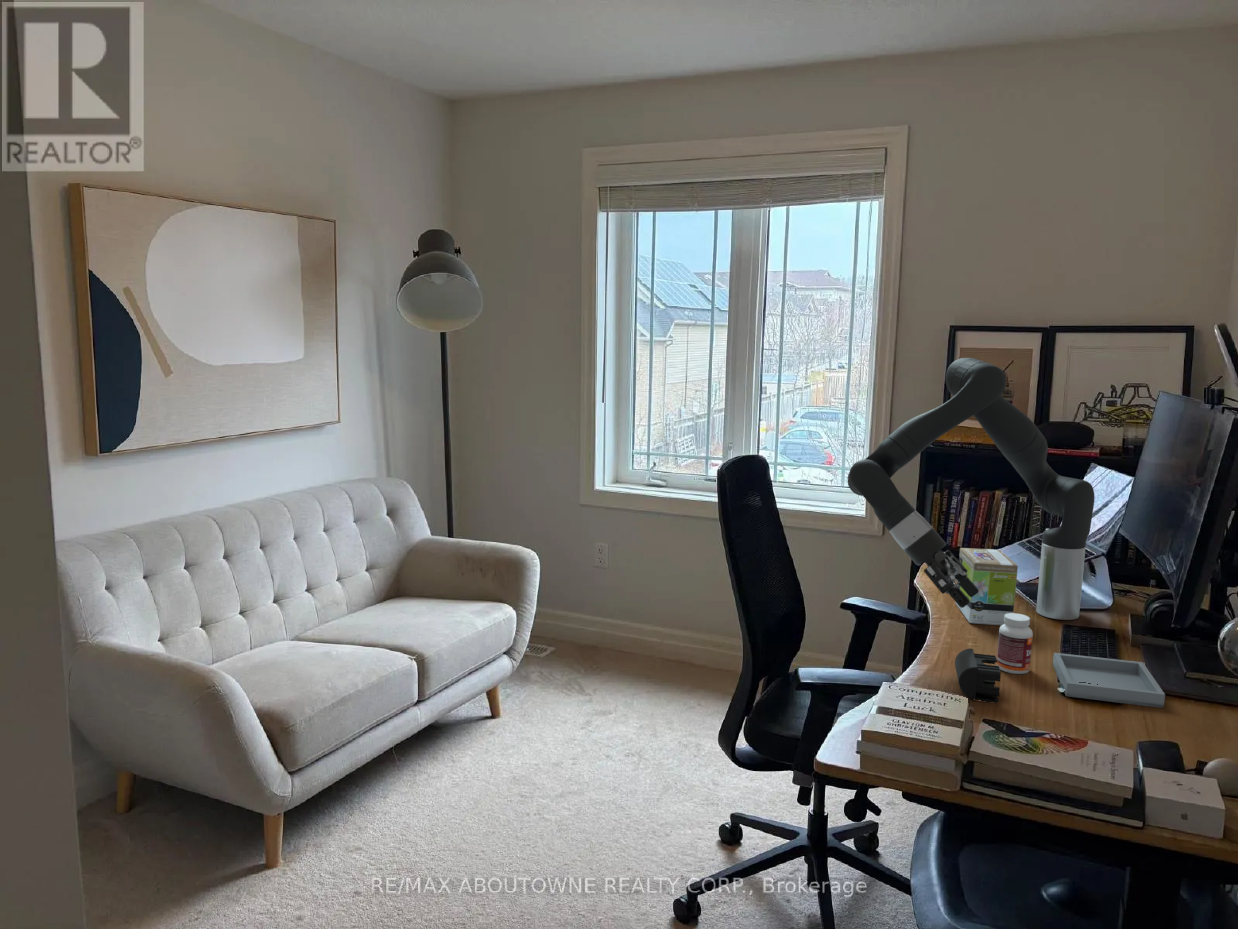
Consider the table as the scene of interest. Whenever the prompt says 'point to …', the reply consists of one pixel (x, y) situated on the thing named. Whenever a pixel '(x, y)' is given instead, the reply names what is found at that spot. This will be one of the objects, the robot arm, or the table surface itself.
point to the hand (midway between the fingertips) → (970, 599)
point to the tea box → (989, 585)
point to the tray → (1108, 680)
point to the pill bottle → (1015, 644)
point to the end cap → (978, 675)
